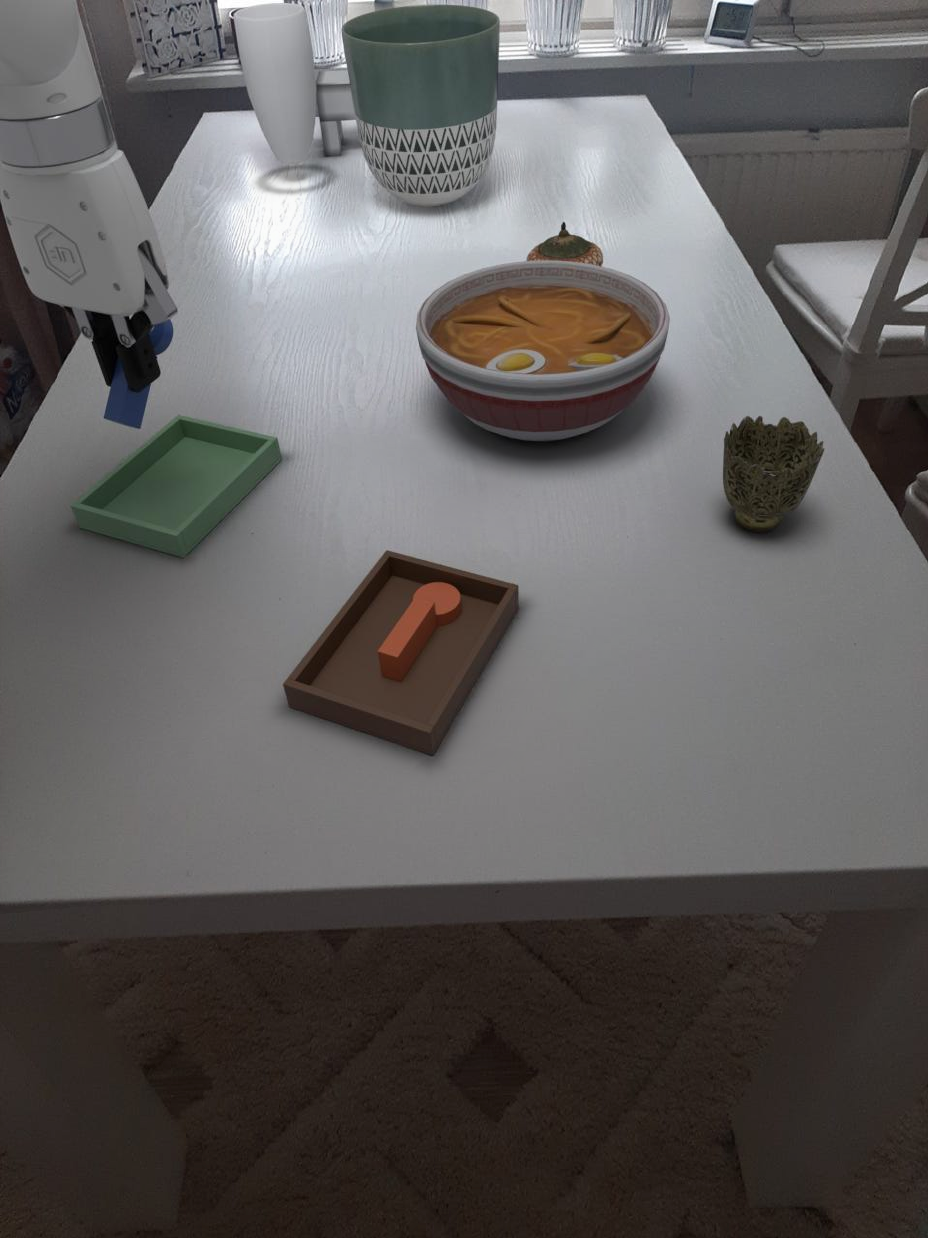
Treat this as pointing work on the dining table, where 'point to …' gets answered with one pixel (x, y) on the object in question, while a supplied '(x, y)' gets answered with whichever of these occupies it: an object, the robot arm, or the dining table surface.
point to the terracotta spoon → (418, 627)
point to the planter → (425, 97)
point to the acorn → (567, 249)
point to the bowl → (542, 345)
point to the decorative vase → (768, 469)
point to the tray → (439, 677)
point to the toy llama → (337, 101)
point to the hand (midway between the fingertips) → (134, 379)
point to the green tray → (177, 485)
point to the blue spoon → (121, 399)
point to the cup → (279, 75)
